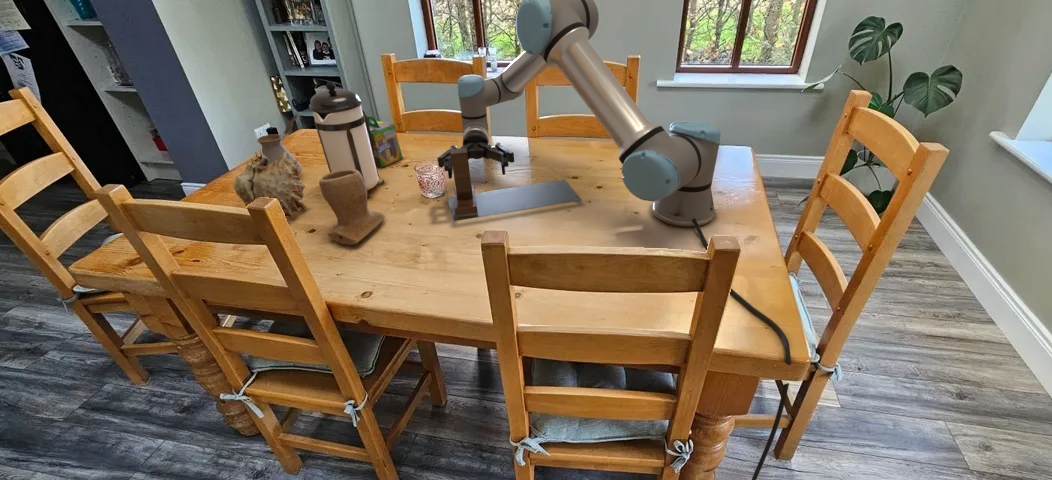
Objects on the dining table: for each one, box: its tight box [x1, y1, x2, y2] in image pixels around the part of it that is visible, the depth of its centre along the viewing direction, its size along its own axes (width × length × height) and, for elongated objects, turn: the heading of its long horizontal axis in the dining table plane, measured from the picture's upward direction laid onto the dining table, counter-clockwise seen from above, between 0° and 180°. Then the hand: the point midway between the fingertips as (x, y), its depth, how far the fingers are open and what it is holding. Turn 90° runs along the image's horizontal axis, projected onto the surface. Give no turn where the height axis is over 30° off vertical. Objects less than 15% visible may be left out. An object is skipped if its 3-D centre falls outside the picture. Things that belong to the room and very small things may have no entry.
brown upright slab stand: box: [451, 148, 478, 217], centre depth 124 cm, size 12×6×15 cm, turn 10°
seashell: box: [232, 148, 308, 220], centre depth 125 cm, size 18×18×15 cm
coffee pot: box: [256, 114, 303, 175], centre depth 148 cm, size 21×12×15 cm, turn 172°
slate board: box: [446, 179, 582, 222], centre depth 131 cm, size 14×34×2 cm, turn 108°
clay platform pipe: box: [318, 169, 386, 246], centre depth 117 cm, size 15×12×15 cm
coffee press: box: [308, 81, 385, 199], centre depth 133 cm, size 17×16×30 cm
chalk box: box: [366, 115, 403, 169], centre depth 154 cm, size 9×9×15 cm
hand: (476, 171), depth 123 cm, fingers open, 13 cm apart
